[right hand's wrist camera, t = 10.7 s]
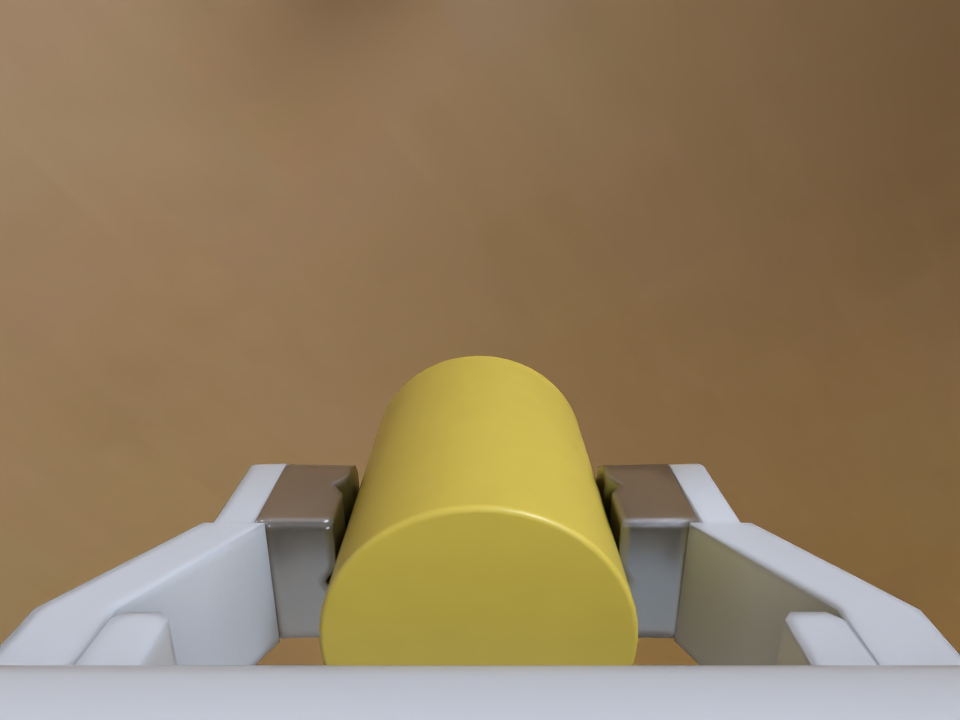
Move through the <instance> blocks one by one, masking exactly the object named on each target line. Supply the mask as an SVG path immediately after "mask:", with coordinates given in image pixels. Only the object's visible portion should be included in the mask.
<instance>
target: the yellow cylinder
mask: <svg viewBox="0 0 960 720" xmlns="http://www.w3.org/2000/svg"><path fill="white" fill-rule="evenodd" d="M319 641H320V647H321V652H322V657H323V661H324V664H325V665H633V662H634V659H635V655H636V649H637V643H638V619H637V612H636V606H635V603H634V600H633V597H632V594H631V590H630V587H629V584H628V581H627V578H626V575H625V572H624V568H623V565H622V562H621V559H620V556H619V553H618V549H617V546H616V543H615V540H614V537H613V534H612V530H611V527H610V524H609V521H608V518H607V515H606V512H605V508H604V505H603V502H602V499H601V496H600V493H599V489H598V486H597V483H596V480H595V477H594V474H593V470H592V467H591V464H590V461H589V458H588V455H587V452H586V448H585V445H584V442H583V439H582V436H581V433H580V429H579V426H578V423H577V420H576V417H575V415H574V413H573V411H572V409H571V407H570V405H569V403H568V402H567V400H566V399H565V397H564V396H563V394H562V393H561V392H560V391H559V390H558V389H557V388H556V387H555V386H554V385H553V384H552V383H551V382H550V381H549V380H547V379H546V378H545V377H544V376H542V375H541V374H539V373H538V372H536V371H534V370H533V369H531V368H529V367H527V366H524V365H522V364H520V363H517V362H514V361H511V360H508V359H503V358H498V357H492V356H468V357H460V358H455V359H450V360H447V361H444V362H441V363H438V364H436V365H434V366H432V367H429V368H427V369H425V370H424V371H422V372H421V373H419V374H417V375H416V376H414V377H413V378H412V379H411V380H409V381H408V382H407V383H406V384H405V385H404V386H403V387H402V388H401V389H400V390H399V391H398V392H397V394H396V395H395V396H394V397H393V399H392V400H391V402H390V403H389V405H388V407H387V409H386V411H385V413H384V415H383V418H382V421H381V424H380V427H379V430H378V433H377V436H376V439H375V442H374V446H373V449H372V452H371V455H370V458H369V461H368V464H367V467H366V470H365V473H364V477H363V480H362V483H361V486H360V489H359V492H358V495H357V498H356V501H355V505H354V508H353V511H352V514H351V517H350V520H349V523H348V526H347V529H346V533H345V536H344V539H343V542H342V545H341V548H340V551H339V554H338V557H337V561H336V564H335V567H334V570H333V573H332V576H331V579H330V582H329V585H328V589H327V592H326V595H325V598H324V601H323V605H322V608H321V614H320V622H319Z"/></svg>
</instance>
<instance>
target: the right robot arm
mask: <svg viewBox="0 0 960 720" xmlns="http://www.w3.org/2000/svg"><path fill="white" fill-rule="evenodd" d="M596 483H597V486H598V489H599V493H600V496H601V499H602V502H603V505H604V508H605V512H606V515H607V518H608V521H609V524H610V527H611V530H612V534H613V537H614V540H615V543H616V546H617V549H618V553H619V556H620V559H621V562H622V565H623V568H624V572H625V575H626V578H627V581H628V584H629V587H630V590H631V594H632V597H633V600H634V603H635V606H636V612H637V619H638V637H650V638H675V642H676V643H677V644H678V645H679V646H680V647H682V648H683V649H684V650H685V651H686V652H687V653H688V654H689V655H690V656H691V657H692V658H693V659H694V660H695V661H696V662H697V663H698V664H699V665H255V664H256V663H257V662H258V661H260V660H261V659H262V658H263V657H264V656H265V655H266V654H267V653H268V652H269V651H270V650H271V649H272V648H273V647H274V646H275V645H276V644H278V643H279V642H280V641H279V638H303V637H319V622H320V614H321V608H322V605H323V601H324V598H325V595H326V592H327V589H328V585H329V582H330V579H331V576H332V573H333V570H334V567H335V564H336V561H337V557H338V554H339V551H340V548H341V545H342V542H343V539H344V536H345V533H346V529H347V526H348V523H349V520H350V517H351V514H352V511H353V508H354V505H355V501H356V498H357V495H358V492H359V479H358V472H357V469H356V466H354V465H300V464H290V465H288V464H256V465H252V466H251V467H250V468H249V470H248V471H247V473H246V474H245V476H244V477H243V479H242V480H241V482H240V483H239V485H238V486H237V488H236V489H235V491H234V492H233V494H232V495H231V497H230V498H229V500H228V501H227V503H226V504H225V506H224V507H223V509H222V510H221V512H220V513H219V515H218V516H217V518H216V520H215V521H214V523H201V524H199V525H197V526H195V527H194V528H192V529H190V530H188V531H186V532H184V533H182V534H180V535H178V536H176V537H174V538H172V539H170V540H168V541H166V542H164V543H162V544H160V545H158V546H156V547H154V548H152V549H150V550H148V551H146V552H145V553H143V554H141V555H139V556H137V557H135V558H133V559H131V560H129V561H127V562H125V563H123V564H121V565H119V566H117V567H115V568H113V569H111V570H109V571H107V572H105V573H103V574H101V575H99V576H97V577H96V578H94V579H92V580H90V581H88V582H86V583H84V584H82V585H80V586H78V587H76V588H74V589H72V590H70V591H68V592H66V593H64V594H62V595H60V596H58V597H56V598H54V599H52V600H50V601H48V602H46V603H45V604H43V605H41V606H39V607H37V608H35V609H33V610H32V612H31V613H30V614H29V615H28V616H27V617H26V618H25V619H24V620H23V621H22V623H21V624H20V625H19V626H18V627H17V628H16V629H15V630H14V631H13V632H12V634H11V635H10V636H9V637H8V638H7V639H6V640H5V641H4V642H3V643H2V645H1V646H0V720H960V654H959V653H958V652H957V651H956V650H955V649H954V648H953V647H952V645H951V644H950V643H949V642H948V641H947V640H946V639H945V638H944V636H943V635H942V634H941V633H940V632H939V631H938V630H937V629H936V627H935V626H934V625H933V624H932V623H931V622H930V621H929V620H928V618H927V617H926V616H925V615H924V614H923V613H922V612H921V610H919V609H917V608H915V607H913V606H911V605H909V604H908V603H906V602H904V601H902V600H900V599H898V598H896V597H894V596H892V595H890V594H888V593H886V592H884V591H882V590H880V589H879V588H877V587H875V586H873V585H871V584H869V583H867V582H865V581H863V580H861V579H859V578H857V577H855V576H853V575H851V574H849V573H848V572H846V571H844V570H842V569H840V568H838V567H836V566H834V565H832V564H830V563H828V562H826V561H824V560H822V559H820V558H818V557H817V556H815V555H813V554H811V553H809V552H807V551H805V550H803V549H801V548H799V547H797V546H795V545H793V544H791V543H789V542H788V541H786V540H784V539H782V538H780V537H778V536H776V535H774V534H772V533H770V532H768V531H766V530H764V529H762V528H760V527H758V526H757V525H755V524H753V523H741V522H740V521H739V519H738V518H737V516H736V515H735V513H734V512H733V510H732V509H731V507H730V506H729V504H728V503H727V501H726V500H725V498H724V497H723V495H722V493H721V492H720V490H719V489H718V487H717V486H716V484H715V483H714V481H713V480H712V478H711V477H710V475H709V474H708V472H707V471H706V469H705V468H704V466H703V465H700V464H698V463H696V464H674V465H668V464H655V465H613V466H600V467H599V468H598V473H597V478H596Z"/></svg>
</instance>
